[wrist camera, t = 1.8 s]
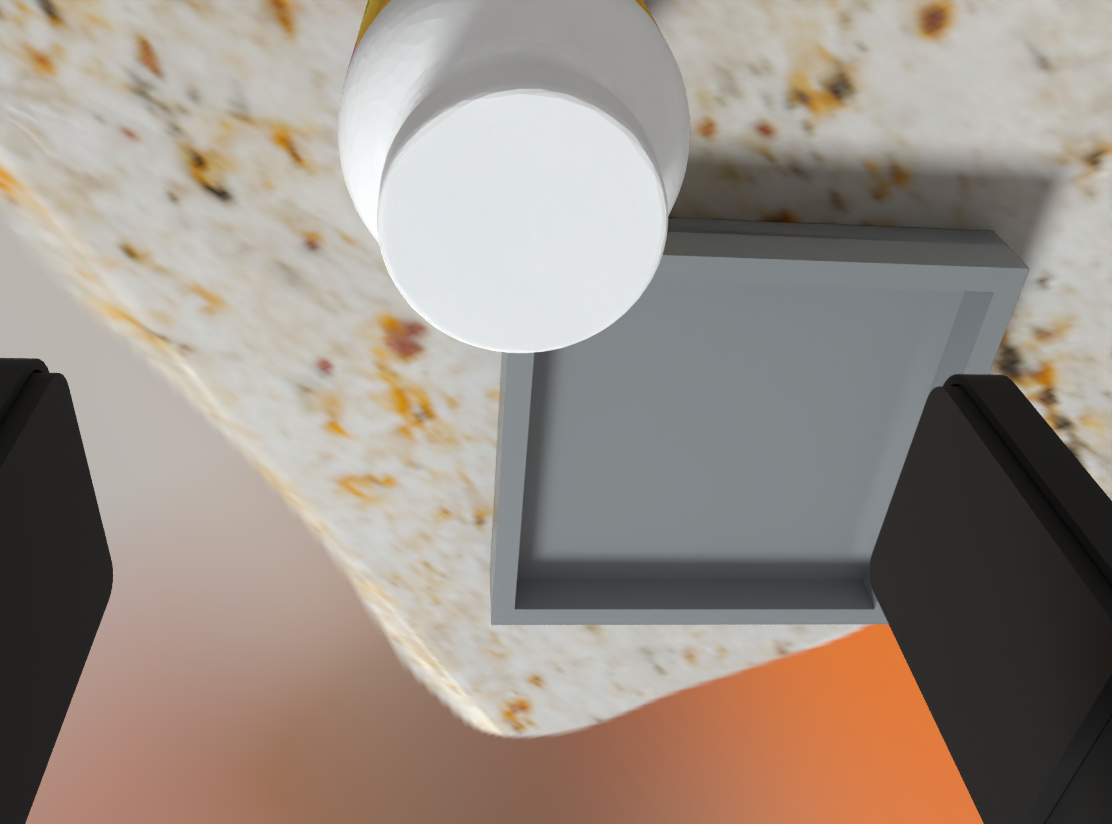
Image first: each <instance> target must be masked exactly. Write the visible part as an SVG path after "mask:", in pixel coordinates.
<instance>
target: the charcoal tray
mask: <svg viewBox="0 0 1112 824" xmlns="http://www.w3.org/2000/svg"><path fill="white" fill-rule="evenodd" d="M1029 270H1030V269H1029V268H1028V266H1027V265H1026V264H1025V263H1024V262H1023V261H1022V260H1021V259H1020V258H1019V257H1018V256H1017V255H1016V254H1015V253H1014V252H1013V251H1012V250H1011V249H1010V248H1009V247H1008V246H1007V245H1006V244H1005V243H1004V242H1003V241H1002V240H1001V239H1000V238H999V237H998V236H997V235H996V233H995V232H994V231H981V230H957V229H933V228H909V227H885V226H861V225H837V224H813V223H789V222H765V221H741V220H717V219H693V218H669V217H668V229H667V237H666V242H665V247H664V251H663V254H662V257H661V260H660V263H659V266H658V268H657V270H656V272H655V274H654V276H653V278H652V280H651V282H650V283H649V285H648V286H647V288H646V289H645V290H644V292H643V293H642V295H641V296H640V298H639V299H638V300H637V301H636V302H635V303H634V304H633V305H632V306H631V308H630V309H629V310H628V311H627V312H626V313H625V314H623V315H622V316H621V317H620V318H619V319H617V320H616V321H615V322H614V323H613V324H611V325H610V326H608V327H607V328H605V329H604V330H602V331H601V332H599V333H597V334H595V335H593V336H591V337H589V338H587V339H585V340H583V341H580V342H578V343H575V344H572V345H569V346H566V347H563V348H559V349H555V350H549V351H544V352H533V353H507V352H502V365H501V383H500V401H499V419H498V438H497V456H496V474H495V493H494V511H493V529H492V547H491V566H490V595H491V625H706V624H888V621H887V619H886V617H885V615H884V613H883V611H882V609H881V607H880V605H879V603H878V600H877V598H876V596H875V594H874V592H873V589H872V587H871V583H870V577H869V565H870V559H871V556H872V553H873V550H874V547H875V544H876V542H877V539H878V536H879V533H880V530H881V527H882V525H883V522H884V519H885V516H886V513H887V510H888V508H889V505H890V502H891V499H892V496H893V493H894V491H895V488H896V485H897V482H898V479H899V476H900V474H901V471H902V468H903V465H904V462H905V460H906V457H907V454H908V451H909V448H910V445H911V443H912V440H913V437H914V434H915V431H916V428H917V426H918V423H919V420H920V417H921V414H922V411H923V409H924V406H925V403H926V400H927V398H928V396H929V393H930V392H931V391H932V390H933V389H934V388H935V387H938V386H943V384H944V382H945V381H946V380H947V379H948V378H949V377H950V376H952V375H955V374H985V375H988V373H989V371H990V368H991V366H992V363H993V361H994V358H995V356H996V353H997V351H998V348H999V346H1000V343H1001V340H1002V338H1003V335H1004V333H1005V330H1006V328H1007V325H1008V323H1009V320H1010V318H1011V315H1012V313H1013V310H1014V308H1015V305H1016V303H1017V300H1018V297H1019V295H1020V292H1021V290H1022V287H1023V285H1024V282H1025V280H1026V277H1027V275H1028V272H1029Z"/></svg>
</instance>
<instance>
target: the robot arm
mask: <svg viewBox="0 0 1112 824" xmlns="http://www.w3.org/2000/svg"><path fill="white" fill-rule="evenodd" d="M869 577H870V583H871V587H872V589H873V592H874V594H875V596H876V598H877V600H878V603H879V605H880V607H881V609H882V611H883V613H884V615H885V617H886V619H887V621H888V624H889V626H890V627H891V630H892V632H893V634H894V636H895V638H896V640H897V642H898V644H899V646H900V649H901V651H902V653H903V655H904V657H905V659H906V661H907V663H908V665H909V668H910V670H911V672H912V674H913V676H914V678H915V680H916V682H917V684H918V686H919V689H920V691H921V693H922V695H923V697H924V699H925V701H926V703H927V705H928V707H929V710H930V711H931V714H932V716H933V718H934V720H935V722H936V724H937V726H938V728H939V731H940V733H941V735H942V737H943V739H944V741H945V743H946V745H947V747H948V749H949V751H950V754H951V756H952V758H953V760H954V762H955V764H956V766H957V768H958V770H959V772H960V775H961V777H962V779H963V781H964V783H965V785H966V787H967V789H968V791H969V793H970V795H971V798H972V800H973V802H974V804H975V806H976V808H977V810H978V812H979V814H980V816H981V818H982V821H983V823H984V824H1112V501H1111V500H1110V498H1109V497H1108V496H1107V495H1106V494H1105V492H1104V491H1103V490H1102V489H1101V488H1100V486H1099V485H1098V484H1097V483H1096V481H1095V480H1094V479H1093V478H1092V477H1091V475H1090V474H1089V473H1088V472H1087V471H1086V469H1085V468H1084V467H1083V466H1082V465H1081V463H1080V462H1079V461H1078V460H1077V458H1076V457H1075V456H1074V455H1073V454H1072V452H1071V451H1070V450H1069V449H1068V448H1067V446H1066V445H1065V444H1064V443H1063V442H1062V440H1061V439H1060V438H1059V437H1058V436H1057V434H1056V433H1055V432H1054V431H1053V429H1052V428H1051V427H1050V426H1049V425H1048V423H1047V422H1046V421H1045V420H1044V419H1043V417H1042V416H1041V415H1040V414H1039V413H1038V411H1037V410H1036V409H1035V408H1034V406H1033V405H1032V404H1031V403H1030V402H1029V400H1028V399H1027V398H1026V397H1025V396H1024V394H1023V393H1022V392H1021V391H1020V390H1019V388H1018V387H1017V386H1016V385H1015V384H1014V382H1013V381H1012V380H1011V379H1009V378H1008V377H1007V376H1004V375H985V374H955V375H952V376H950V377H949V378H948V379H947V380H946V381H945V382H944V384H943V386H938V387H935V388H934V389H933V390H932V391H931V392H930V393H929V396H928V398H927V400H926V403H925V406H924V409H923V411H922V414H921V417H920V420H919V423H918V426H917V428H916V431H915V434H914V437H913V440H912V443H911V445H910V448H909V451H908V454H907V457H906V460H905V462H904V465H903V468H902V471H901V474H900V476H899V479H898V482H897V485H896V488H895V491H894V493H893V496H892V499H891V502H890V505H889V508H888V510H887V513H886V516H885V519H884V522H883V525H882V527H881V530H880V533H879V536H878V539H877V542H876V544H875V547H874V550H873V553H872V556H871V559H870V565H869ZM112 583H113V568H112V561H111V557H110V553H109V549H108V545H107V540H106V536H105V532H104V528H103V524H102V520H101V517H100V512H99V508H98V504H97V500H96V496H95V492H94V488H93V484H92V480H91V475H90V471H89V467H88V463H87V459H86V455H85V451H84V447H83V443H82V439H81V435H80V431H79V427H78V423H77V419H76V415H75V411H74V407H73V402H72V398H71V394H70V390H69V386H68V383H67V380H66V379H65V377H64V376H63V375H62V374H60V373H49V371H48V368H47V367H46V365H45V363H44V362H43V361H41V360H40V359H27V358H0V824H25V823H26V820H27V817H28V815H29V812H30V809H31V807H32V804H33V801H34V799H35V796H36V793H37V791H38V788H39V785H40V783H41V780H42V777H43V774H44V772H45V769H46V767H47V764H48V761H49V758H50V756H51V753H52V750H53V748H54V745H55V742H56V740H57V737H58V734H59V732H60V729H61V726H62V723H63V721H64V718H65V716H66V713H67V710H68V708H69V705H70V702H71V699H72V697H73V694H74V692H75V689H76V686H77V684H78V681H79V678H80V676H81V673H82V670H83V668H84V665H85V662H86V660H87V657H88V654H89V651H90V649H91V646H92V644H93V641H94V638H95V636H96V633H97V630H98V628H99V625H100V622H101V619H102V617H103V614H104V611H105V609H106V606H107V603H108V601H109V598H110V594H111V589H112Z"/></svg>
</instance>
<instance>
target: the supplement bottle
mask: <svg viewBox="0 0 1112 824" xmlns="http://www.w3.org/2000/svg"><path fill="white" fill-rule="evenodd" d="M338 146H339V153H340V160H341V165H342V171H343V175H344V178H345V182H346V185H347V188H348V190H349V193H350V195H351V198H352V200H353V203H354V205H355V207H356V209H357V211H358V213H359V215H360V217H361V218H362V220H363V222H364V223H365V225H366V226H367V228H368V229H369V231H370V232H371V233H372V235H373V236H374V237H375V239H376V240H377V242H378V243H379V245H380V249H381V253H382V257H383V260H384V262H385V265H386V267H387V270H388V272H389V274H390V276H391V278H392V280H393V282H394V283H395V285H396V287H397V288H398V290H399V291H400V293H401V294H402V296H403V297H404V298H405V299H406V301H407V302H408V303H409V304H410V306H411V307H412V308H413V309H414V310H415V311H416V312H417V313H418V314H420V315H421V316H422V317H423V318H424V319H425V320H426V321H428V322H429V323H430V324H432V325H433V326H434V327H436V328H437V329H439V330H441V331H442V332H444V333H445V334H447V335H449V336H451V337H453V338H455V339H457V340H459V341H462V342H464V343H467V344H470V345H473V346H476V347H480V348H484V349H488V350H493V351H499V352H507V353H533V352H544V351H549V350H555V349H559V348H563V347H566V346H569V345H572V344H575V343H578V342H580V341H583V340H585V339H587V338H589V337H591V336H593V335H595V334H597V333H599V332H601V331H602V330H604V329H605V328H607V327H608V326H610V325H611V324H613V323H614V322H615V321H616V320H617V319H619V318H620V317H621V316H622V315H623V314H625V313H626V312H627V311H628V310H629V309H630V308H631V306H632V305H633V304H634V303H635V302H636V301H637V300H638V299H639V298H640V296H641V295H642V293H643V292H644V290H645V289H646V288H647V286H648V285H649V283H650V282H651V280H652V278H653V276H654V274H655V272H656V270H657V268H658V266H659V263H660V260H661V257H662V254H663V251H664V247H665V242H666V237H667V229H668V216H669V214H670V212H671V210H672V208H673V206H674V203H675V201H676V199H677V196H678V194H679V192H680V189H681V186H682V183H683V180H684V176H685V172H686V168H687V162H688V155H689V148H690V116H689V108H688V101H687V95H686V89H685V86H684V82H683V79H682V76H681V73H680V70H679V68H678V65H677V63H676V60H675V58H674V56H673V54H672V52H671V50H670V48H669V46H668V44H667V42H666V41H665V39H664V37H663V35H662V33H661V31H660V30H659V28H658V26H657V24H656V22H655V21H654V19H653V17H652V16H651V14H650V12H649V10H648V8H647V6H646V5H645V3H644V1H643V0H368V2H367V6H366V10H365V13H364V17H363V20H362V23H361V27H360V31H359V34H358V37H357V40H356V44H355V47H354V51H353V54H352V57H351V61H350V64H349V67H348V70H347V74H346V77H345V81H344V85H343V90H342V94H341V98H340V106H339V114H338Z"/></svg>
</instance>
